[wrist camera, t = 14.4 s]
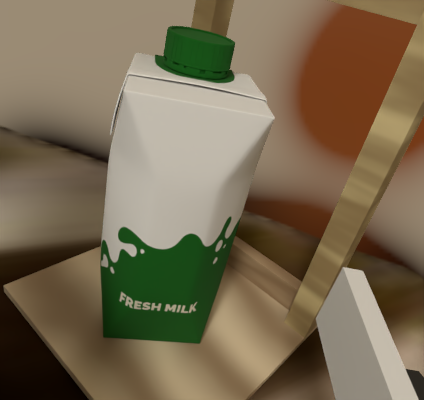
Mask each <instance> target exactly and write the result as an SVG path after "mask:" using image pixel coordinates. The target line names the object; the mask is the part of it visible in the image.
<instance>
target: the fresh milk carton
mask: <svg viewBox="0 0 424 400" xmlns="http://www.w3.org/2000/svg"><path fill="white" fill-rule="evenodd" d="M234 47H235V42H234V41H232V40H231V39H229V38H227V37H224V36H222V35H219V34H216V33H212V32H209V31H205V30H201V29H196V28H190V27H183V26H171V27H169V28H168V30H167V36H166V43H165V49H164V56H159V55H155V56H151V55H147V54H142V53H135V56H134V58H133V61H132V63H131V66H130V68H129V69H128V72H127V74H126V77H125V80H124V83H123V85H122V88H121V91H120V94H119V97H118V100H117V103H116V107H115V111H114V115H113V120H112V125H111V131H110V135H111V133H112V131H113V127H114V123H115V119H116V114H117V111H118V107H119V103H120V99H121V96H122V100H121V104H120V109H119V113H118V117H117V123H116V127H115V131H114V135H113V140H112V144H111V149H110V155H109V163H108V173H107V184H106V195H105V206H104V217H103V229H102V240H101V261H100V272H101V292H102V318H103V337H104V338H120V339H135V340H150V341H165V342H180V343H195V344H200V341H201V338H202V335H203V332H204V329H205V326H206V323H207V321H208V318H209V315H210V312H211V309H212V306H213V303H214V300H215V297H216V294H217V292H218V289H219V286H220V283H221V279H222V276H223V273H224V270H225V267H226V264H227V261H228V257H229V254H230V251H231V248H232V245H233V241H234V238H235V235H236V232H237V228H238V225H239V222H240V218H241V215H242V212H243V209H244V205H245V202H246V199H247V196H248V192H249V189H250V186H251V182H252V179H253V175H254V172H255V169H256V166H257V163H258V160H259V158H260V155H261V153H262V150H263V147H264V145H265V142H266V139H267V137H268V134H269V131H270V129H271V126H272V124H273V121H274V119H275V117H274V115H273V114H272V112H271V111H270V109H269V107H268V106H267V99H266V97H265V96H264V94H263V93H261V92H260V90H259V89H258V88H257V86H256V84H255V83H254V81H253V80H252V78H251V77H250V76H249V75H246V74H241V73H234V72H232V70H229V69H230V65H231V60H232V56H233V51H234ZM128 75H129V76H128ZM127 77H128V79H127ZM126 80H127V82H126ZM125 83H126V85H125ZM124 86H125V88H124ZM123 89H124V91H123ZM122 92H123V95H122Z"/></svg>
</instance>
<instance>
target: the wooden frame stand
mask: <svg viewBox="0 0 424 400" xmlns="http://www.w3.org/2000/svg"><path fill="white" fill-rule="evenodd" d="M329 1H332V2H336V3H339V4H343V5H347V6H351V7H354V8H358V9H362V10H366V11H369V12H373V13H376V14H381V15H384V16H388V17H391V18H395V19H399V20H402V21H406V22H410V23H413V24H417V27H416V29H415V31H414V34H413V36H412V38H411V40H410V43H409V45H408V47H407V49H406V52H405V54H404V56H403V58H402V60H401V63H400V65H399V67H398V70H397V72H396V74H395V76H394V79H393V81H392V83H391V85H390V87H389V89H388V92H387V94H386V96H385V98H384V101H383V103H382V105H381V107H380V110H379V112H378V114H377V116H376V119H375V121H374V123H373V125H372V127H371V130H370V132H369V134H368V136H367V139H366V141H365V143H364V145H363V147H362V150H361V152H360V154H359V156H358V159H357V161H356V163H355V165H354V168H353V170H352V172H351V174H350V177H349V179H348V181H347V183H346V185H345V188H344V190H343V192H342V195H341V197H340V199H339V201H338V203H337V206H336V208H335V210H334V212H333V214H332V217H331V219H330V221H329V224H328V226H327V228H326V230H325V232H324V235H323V237H322V239H321V241H320V243H319V246H318V248H317V250H316V252H315V255H314V257H313V259H312V261H311V264H310V266H309V268H308V270H307V272H306V275H305V277H304V279H303V281H302V282H301V281H300V280H298V279H297V278H295V277H294V276H292V275H291V274H290V273H288V272H287V271H285V270H284V269H282V268H281V267H280V266H278V265H277V264H275V263H274V262H272V261H271V260H269V259H268V258H267V257H265V256H264V255H262V254H261V253H259V252H258V251H257V250H255V249H254V248H252V247H251V246H249V245H248V244H247V243H245V242H244V241H242V240H241V239H239V238H238V237H237V236H235V238H234V241H233V245H232V248H231V251H230V254H229V257H228V261H227V264H226V267H225V270H224V273H223V276H222V279H221V283H220V286H219V289H218V292H217V294H216V297H215V300H214V303H213V306H212V309H211V312H210V315H209V318H208V321H207V323H206V326H205V329H204V332H203V335H202V338H201V341H200V344H195V343H180V342H165V341H150V340H135V339H120V338H104V337H103V318H102V292H101V272H100V261H101V246H100V247H97V248H95V249H92V250H90V251H87V252H85V253H83V254H80V255H78V256H75V257H73V258H70V259H68V260H65V261H63V262H60V263H58V264H55V265H53V266H50V267H48V268H46V269H43V270H41V271H38V272H36V273H33V274H31V275H28V276H26V277H23V278H21V279H18V280H16V281H14V282H11V283H9V284H6V285H4V292H5V293H6V295H7V296H8V297H9V298H10V300H11V301H12V302H13V303H14V305H15V306H16V307H17V309H18V310H19V311H20V312H21V314H22V315H23V316H24V317H25V319H26V320H27V321H28V323H29V324H30V325H31V326H32V328H33V329H34V330H35V331H36V333H37V334H38V335H39V337H40V338H41V339H42V340H43V342H44V343H45V344H46V345H47V347H48V348H49V349H50V351H51V352H52V353H53V354H54V356H55V357H56V358H57V359H58V361H59V362H60V363H61V365H62V366H63V367H64V368H65V370H66V371H67V372H68V373H69V375H70V376H71V377H72V379H73V380H74V381H75V382H76V384H77V385H78V386H79V387H80V389H81V390H82V391H83V393H84V394H85V395H86V396H87V398H88V399H89V400H248V399H249V398H250V397H251V396H252V395H253V394H254V393H255V392H256V391H257V390H258V389H259V388H260V387H261V386H262V385H263V384H264V382H265V381H266V380H267V379H268V378H269V377H270V376H271V375H272V374H273V373H274V372H275V371H276V370H277V369H278V368H279V367H280V366H281V365H282V364H283V362H284V361H285V360H286V359H287V358H288V357H289V356H290V355H291V354H292V353H293V352H294V351H295V350H296V349H297V348H298V347H299V346H300V345H301V344H302V343H303V341H304V340H305V339H306V338H307V337H308V336H309V335H310V334H311V333H312V332H313V331H314V330H315V329H316V328H317V327H318V326H317V322H316V317H317V315H318V313H319V311H320V309H321V308H322V306H323V304H324V302H325V300H326V298H327V296H328V294H329V292H330V291H331V289H332V287H333V285H334V283H335V281H336V279H337V277H338V275H339V274H340V272H341V270H342V268H343V267H345V268H346V267H347V265H348V263H349V261H350V259H351V257H352V255H353V253H354V251H355V249H356V247H357V245H358V243H359V241H360V239H361V237H362V235H363V234H364V232H365V230H366V227H367V226H368V223H369V222H370V220H371V218H372V216H373V214H374V212H375V210H376V208H377V206H378V204H379V202H380V200H381V198H382V196H383V194H384V192H385V190H386V189H387V186H388V185H389V182H390V181H391V179H392V177H393V175H394V173H395V171H396V169H397V167H398V165H399V163H400V161H401V159H402V157H403V155H404V153H405V151H406V150H407V148H408V146H409V144H410V142H411V140H412V138H413V136H414V134H415V132H416V130H417V128H418V126H419V124H420V122H421V120H422V118H423V116H424V0H329ZM233 3H234V0H196V4H195V9H194V15H193V21H192V26H191V28H196V29H201V30H205V31H209V32H212V33H216V34H219V35H222V36H224V37H226V35H227V30H228V26H229V21H230V17H231V12H232V8H233Z"/></svg>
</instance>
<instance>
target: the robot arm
mask: <svg viewBox="0 0 424 400" xmlns="http://www.w3.org/2000/svg"><path fill="white" fill-rule="evenodd" d="M316 322H317V326H318V330H319V334H320V338H321V342H322V347H323V351H324V355H325V359H326V363H327V367H328V371H329V375H330V379H331V383H332V387H333V391H334V395H335V399H336V400H424V377H423V376H422V375H421V374H420V372H419V371H414V370H408V369H405V367H404V365H403V362H402V360H401V358H400V355H399V353H398V351H397V348H396V346H395V344H394V342H393V339H392V337H391V335H390V332H389V330H388V328H387V325H386V323H385V321H384V318H383V316H382V314H381V312H380V309H379V307H378V305H377V302H376V300H375V298H374V295H373V293H372V291H371V288H370V286H369V284H368V282H367V279H366V277H365V275H364V272H363V271H360V270H355V269H350V268H345V267H343V268H342V270H341V272H340V274H339V275H338V277H337V279H336V281H335V283H334V285H333V287H332V289H331V291H330V292H329V294H328V296H327V298H326V300H325V302H324V304H323V306H322V308H321V309H320V311H319V313H318V315H317V317H316Z"/></svg>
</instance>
